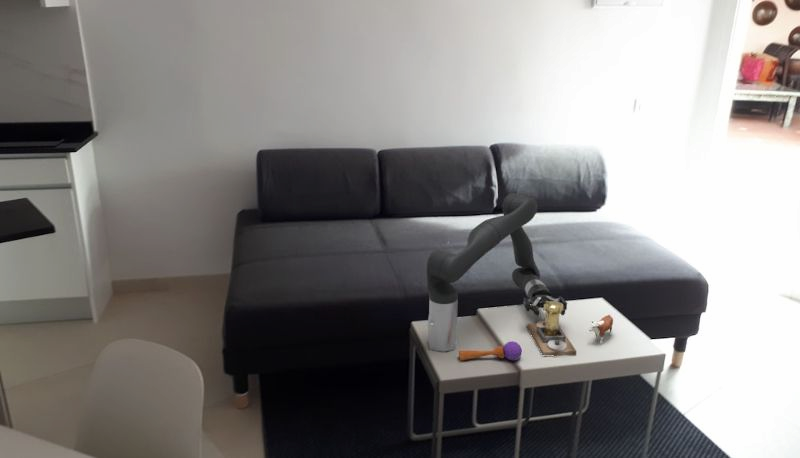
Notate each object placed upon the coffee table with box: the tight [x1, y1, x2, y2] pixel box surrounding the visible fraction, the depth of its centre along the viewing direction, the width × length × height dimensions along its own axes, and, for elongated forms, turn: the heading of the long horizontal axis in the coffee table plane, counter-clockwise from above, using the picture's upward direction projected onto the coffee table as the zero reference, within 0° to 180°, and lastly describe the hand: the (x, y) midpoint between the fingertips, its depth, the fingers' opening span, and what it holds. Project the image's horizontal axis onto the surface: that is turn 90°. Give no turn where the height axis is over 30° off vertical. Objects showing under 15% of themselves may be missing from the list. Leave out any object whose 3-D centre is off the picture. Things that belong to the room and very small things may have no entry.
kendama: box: [458, 340, 523, 362], centre depth 202 cm, size 6×6×20 cm
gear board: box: [526, 320, 577, 357], centre depth 213 cm, size 11×20×4 cm, turn 4°
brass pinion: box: [542, 301, 563, 336], centre depth 211 cm, size 6×6×12 cm
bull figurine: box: [588, 314, 614, 345], centre depth 213 cm, size 4×13×8 cm, turn 135°
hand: (551, 313), depth 212 cm, fingers open, 8 cm apart
